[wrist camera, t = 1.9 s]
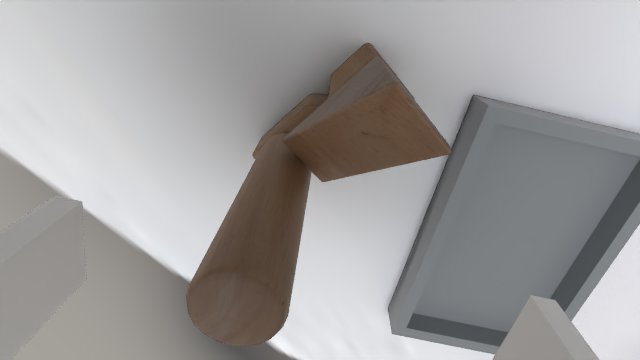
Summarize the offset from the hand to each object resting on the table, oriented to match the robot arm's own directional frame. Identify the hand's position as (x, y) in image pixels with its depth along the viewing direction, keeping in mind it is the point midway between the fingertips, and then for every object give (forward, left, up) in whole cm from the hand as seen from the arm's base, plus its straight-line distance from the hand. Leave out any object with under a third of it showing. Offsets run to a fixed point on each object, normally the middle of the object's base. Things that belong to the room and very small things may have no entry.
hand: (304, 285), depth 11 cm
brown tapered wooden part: (0, 0, -19) cm, 19 cm away
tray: (+7, +17, -19) cm, 26 cm away
